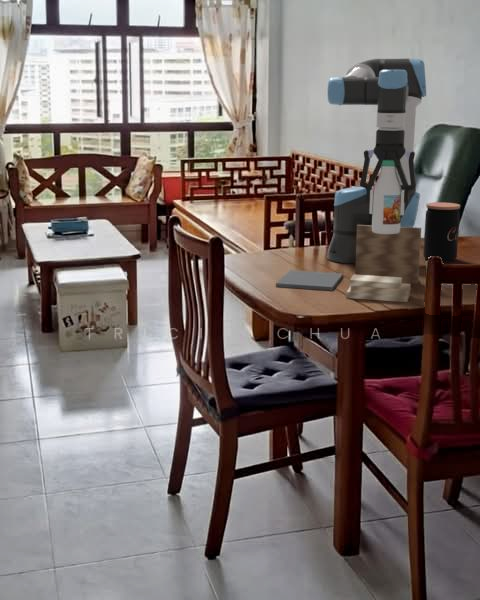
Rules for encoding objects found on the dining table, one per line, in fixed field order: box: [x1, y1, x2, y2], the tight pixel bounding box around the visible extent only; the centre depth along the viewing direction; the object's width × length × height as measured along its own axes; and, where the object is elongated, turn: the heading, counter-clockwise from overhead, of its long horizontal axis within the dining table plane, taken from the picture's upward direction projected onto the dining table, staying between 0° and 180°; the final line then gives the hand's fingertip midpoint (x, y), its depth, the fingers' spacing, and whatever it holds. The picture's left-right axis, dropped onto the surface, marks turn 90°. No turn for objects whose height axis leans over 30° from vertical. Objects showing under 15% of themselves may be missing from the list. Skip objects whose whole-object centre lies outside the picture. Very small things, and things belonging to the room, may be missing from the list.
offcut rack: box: [345, 225, 422, 303], centre depth 233 cm, size 18×26×16 cm
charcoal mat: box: [275, 269, 344, 292], centre depth 243 cm, size 16×18×1 cm
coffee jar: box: [422, 201, 461, 263], centre depth 272 cm, size 11×11×18 cm
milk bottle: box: [372, 160, 402, 234], centre depth 230 cm, size 8×8×20 cm
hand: (386, 213), depth 231 cm, fingers closed on milk bottle, 8 cm apart
